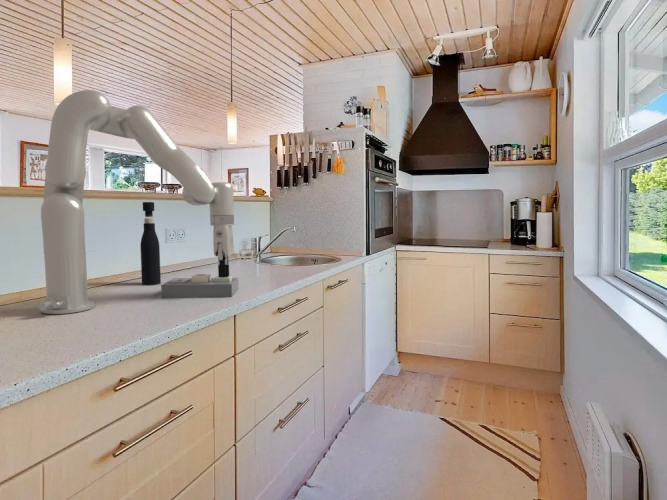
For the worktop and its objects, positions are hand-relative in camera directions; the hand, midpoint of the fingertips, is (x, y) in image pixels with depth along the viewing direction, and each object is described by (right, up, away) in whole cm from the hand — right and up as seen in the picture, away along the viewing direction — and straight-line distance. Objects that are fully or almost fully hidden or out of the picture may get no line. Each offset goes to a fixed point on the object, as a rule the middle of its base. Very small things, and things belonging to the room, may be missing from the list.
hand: (223, 276), depth 139 cm
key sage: (0, -3, 0) cm, 3 cm away
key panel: (-7, -5, 0) cm, 9 cm away
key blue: (-14, -4, -1) cm, 15 cm away
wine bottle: (-31, -4, +17) cm, 36 cm away
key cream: (-7, -2, 0) cm, 8 cm away
